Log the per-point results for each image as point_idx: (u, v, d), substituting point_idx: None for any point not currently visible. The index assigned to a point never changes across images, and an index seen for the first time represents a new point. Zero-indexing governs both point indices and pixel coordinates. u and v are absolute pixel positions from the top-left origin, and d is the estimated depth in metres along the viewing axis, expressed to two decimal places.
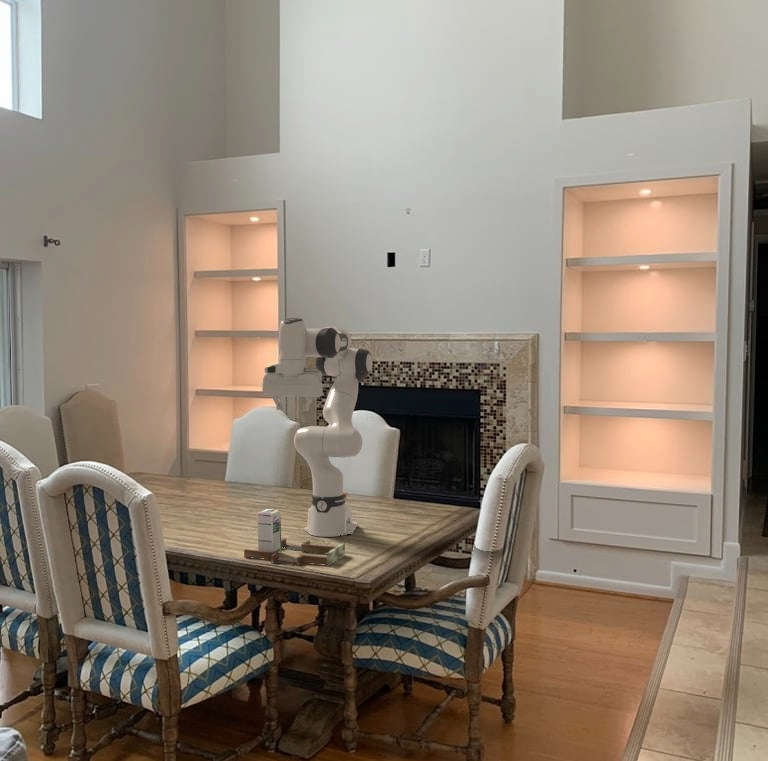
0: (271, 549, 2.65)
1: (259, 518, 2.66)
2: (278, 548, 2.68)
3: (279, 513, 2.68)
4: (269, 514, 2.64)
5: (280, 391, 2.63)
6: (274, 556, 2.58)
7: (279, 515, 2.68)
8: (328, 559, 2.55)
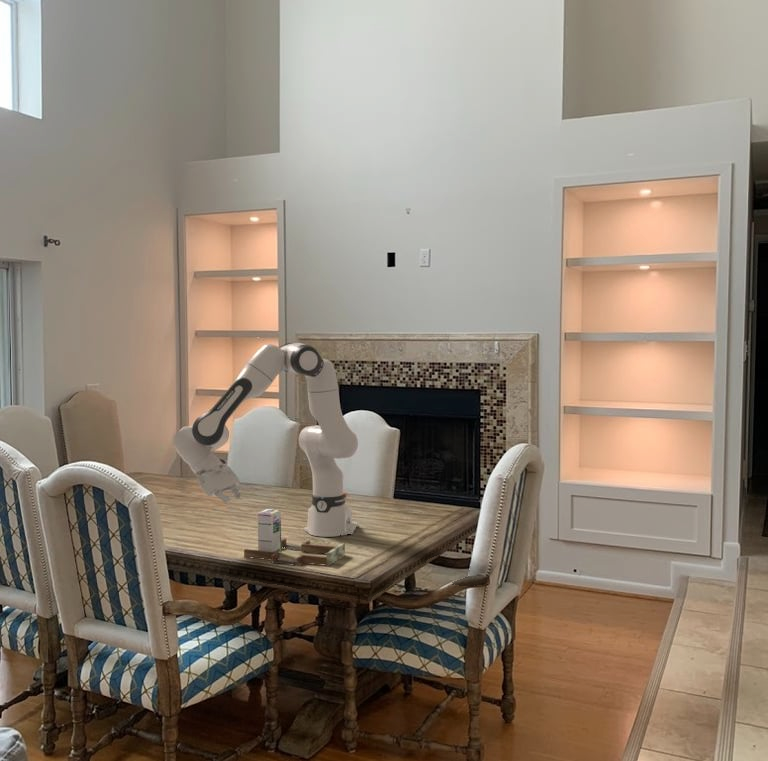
0: (271, 549, 2.65)
1: (259, 518, 2.66)
2: (278, 548, 2.68)
3: (279, 513, 2.68)
4: (269, 514, 2.64)
5: None
6: (274, 556, 2.58)
7: (279, 515, 2.68)
8: (328, 559, 2.55)
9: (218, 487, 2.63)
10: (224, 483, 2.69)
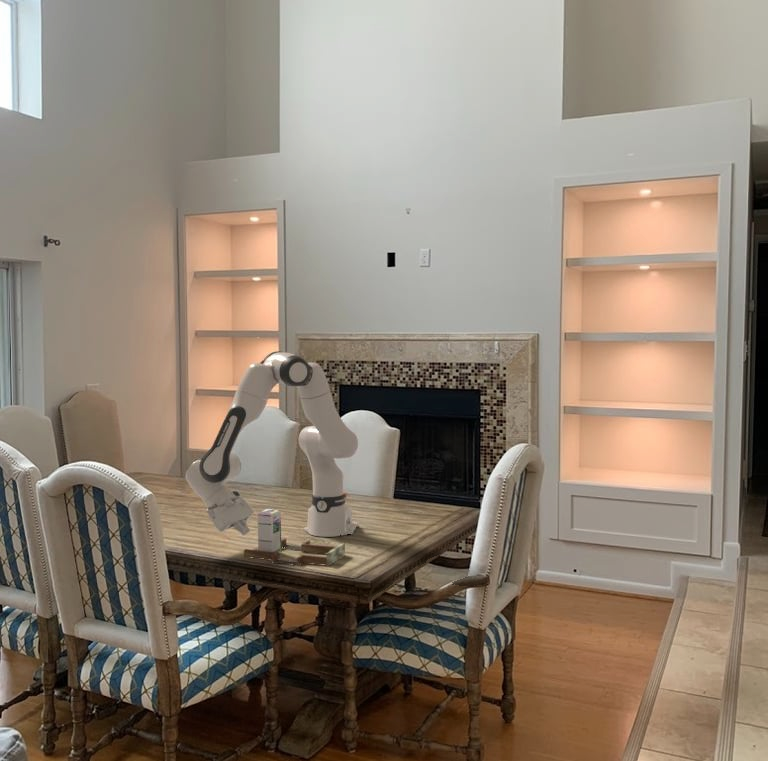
0: (271, 549, 2.65)
1: (259, 518, 2.66)
2: (278, 548, 2.68)
3: (279, 513, 2.68)
4: (269, 514, 2.64)
5: None
6: (274, 556, 2.58)
7: (279, 515, 2.68)
8: (328, 559, 2.55)
9: (229, 522, 2.64)
10: (237, 517, 2.69)
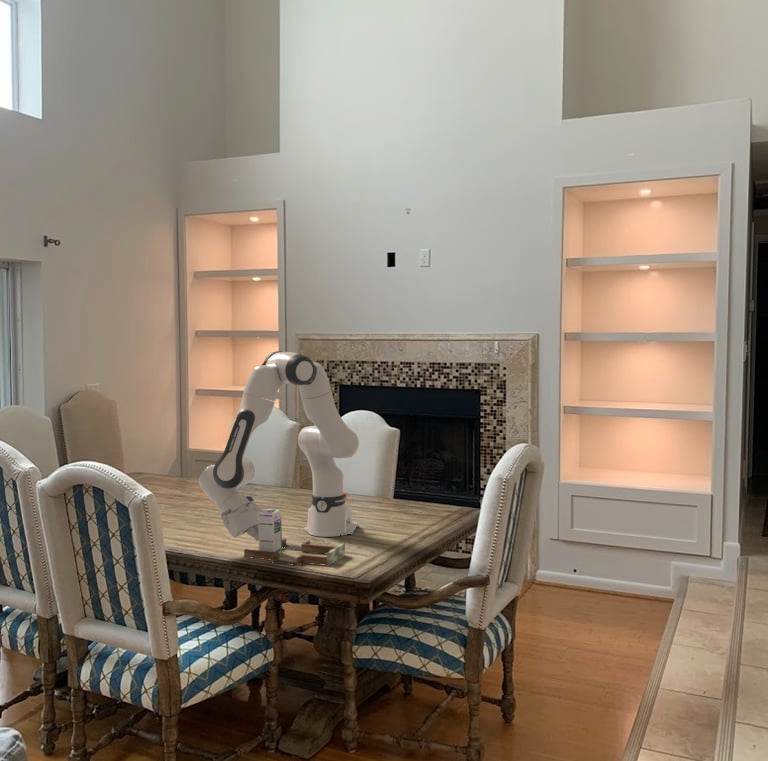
0: (272, 549, 2.65)
1: (260, 518, 2.65)
2: (278, 548, 2.67)
3: (280, 513, 2.68)
4: (270, 514, 2.64)
5: None
6: (274, 556, 2.58)
7: (280, 515, 2.68)
8: (328, 559, 2.55)
9: (243, 528, 2.63)
10: (251, 523, 2.68)
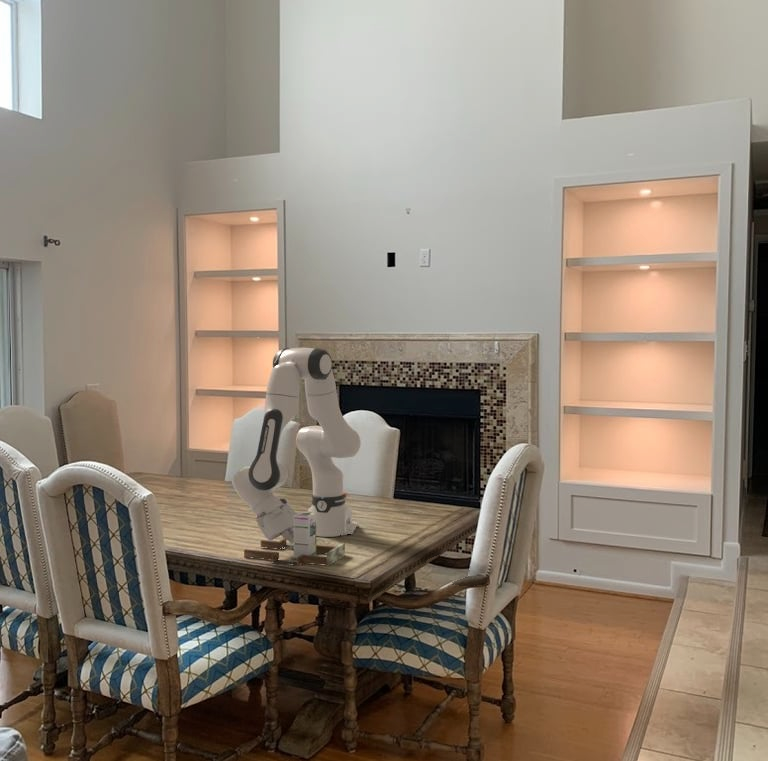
0: (307, 553, 2.61)
1: (295, 521, 2.61)
2: (313, 551, 2.63)
3: (315, 516, 2.64)
4: (306, 517, 2.60)
5: None
6: (274, 556, 2.58)
7: (315, 518, 2.64)
8: (328, 559, 2.55)
9: (278, 531, 2.58)
10: (285, 526, 2.64)
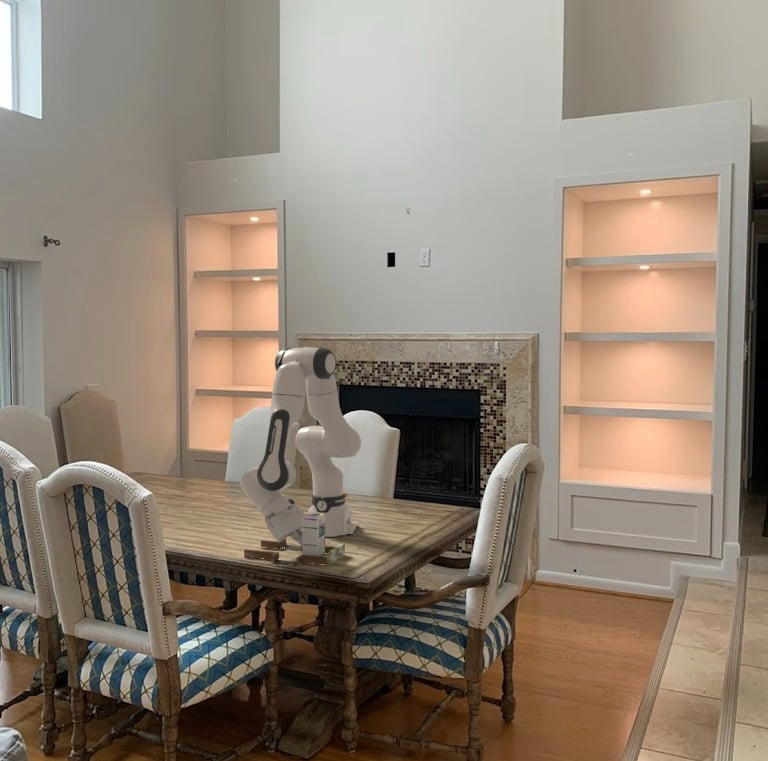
0: (316, 553, 2.60)
1: (304, 522, 2.60)
2: (322, 552, 2.62)
3: (324, 517, 2.63)
4: (315, 518, 2.59)
5: None
6: (274, 556, 2.58)
7: (324, 519, 2.63)
8: (328, 559, 2.55)
9: (287, 531, 2.58)
10: (294, 526, 2.63)
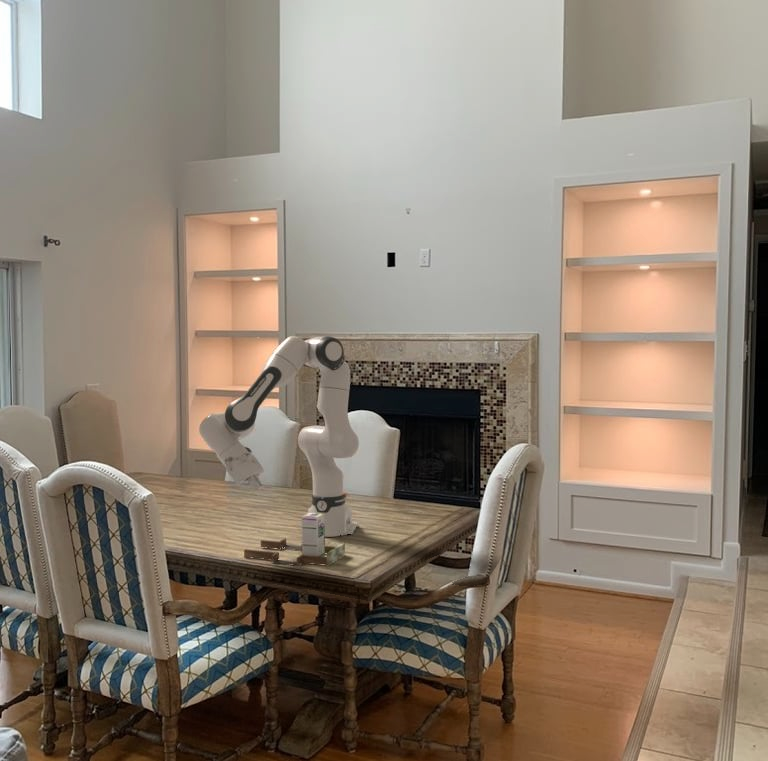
0: (316, 554, 2.60)
1: (303, 522, 2.60)
2: (322, 552, 2.62)
3: (323, 517, 2.63)
4: (314, 518, 2.59)
5: None
6: (274, 556, 2.58)
7: (323, 519, 2.63)
8: (328, 559, 2.55)
9: (246, 475, 2.62)
10: (251, 472, 2.67)
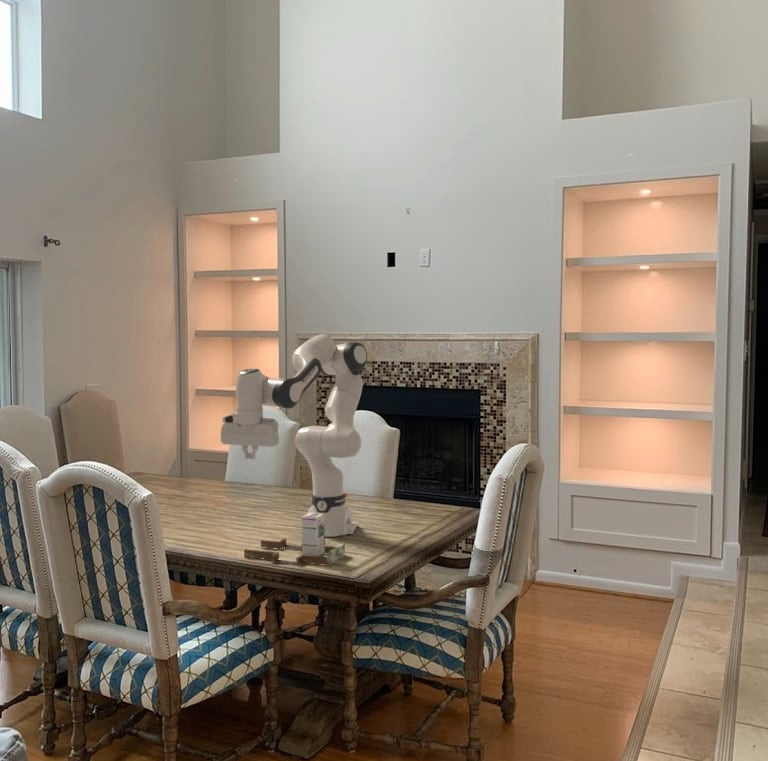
0: (316, 554, 2.60)
1: (303, 522, 2.60)
2: (322, 552, 2.62)
3: (323, 517, 2.63)
4: (314, 518, 2.59)
5: (238, 440, 2.70)
6: (274, 556, 2.58)
7: (323, 519, 2.63)
8: (328, 559, 2.55)
9: None
10: None
